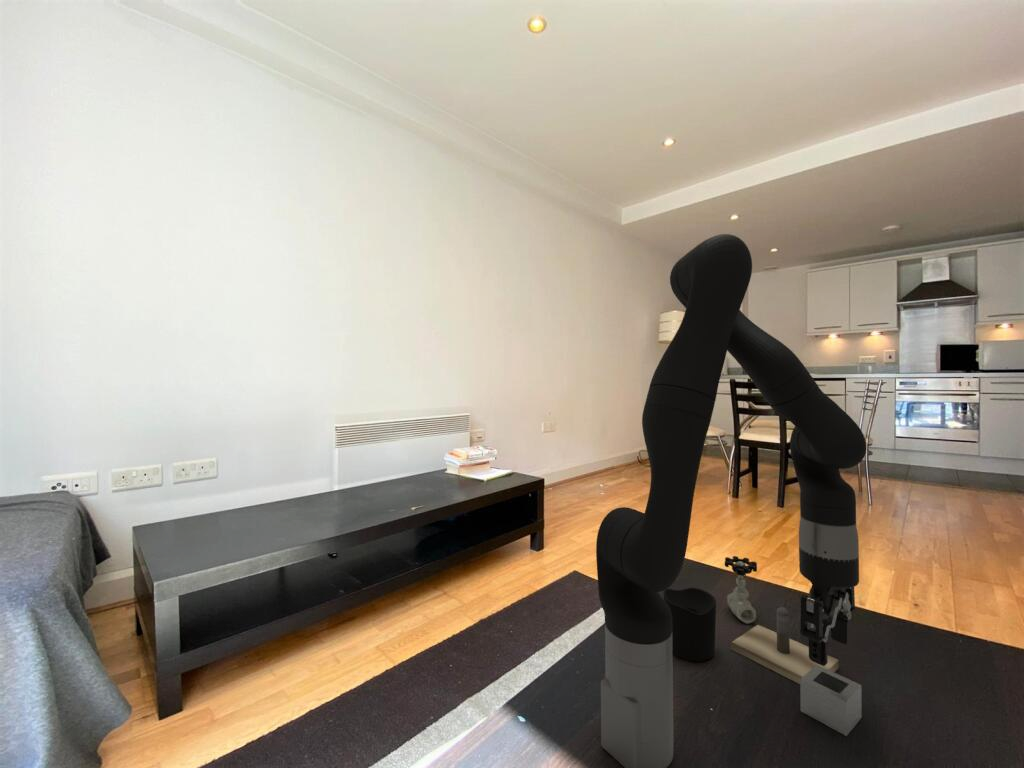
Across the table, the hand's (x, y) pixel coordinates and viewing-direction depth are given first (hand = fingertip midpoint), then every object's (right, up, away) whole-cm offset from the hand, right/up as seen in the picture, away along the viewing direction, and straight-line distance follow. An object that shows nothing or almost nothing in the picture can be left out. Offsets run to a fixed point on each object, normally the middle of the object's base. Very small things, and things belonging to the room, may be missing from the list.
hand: (829, 651), depth 69 cm
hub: (0, -10, 0) cm, 10 cm away
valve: (+1, -9, +28) cm, 29 cm away
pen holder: (-15, -10, +17) cm, 24 cm away
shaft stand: (+1, -9, +13) cm, 16 cm away
